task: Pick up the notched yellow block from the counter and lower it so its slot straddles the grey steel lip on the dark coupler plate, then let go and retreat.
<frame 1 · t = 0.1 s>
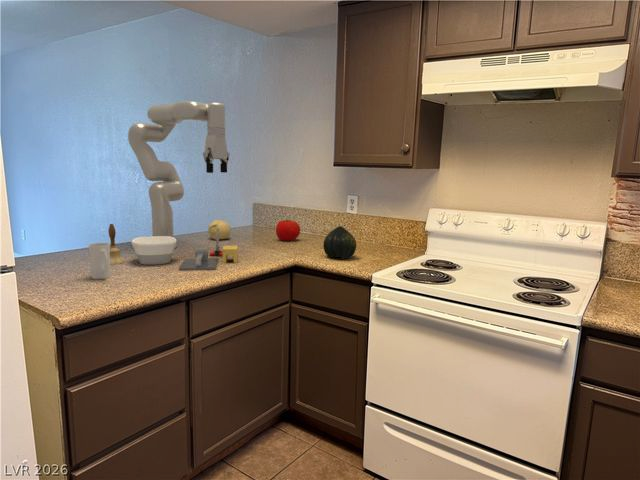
hand: (217, 172, 197), 37 cm above the worktop, tool pointing down, fingers open, 9 cm apart
hand bell: (114, 262, 185), on the worktop
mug: (102, 278, 161), on the worktop
tomato: (287, 240, 247), on the worktop
squash: (339, 257, 207), on the worktop
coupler: (199, 264, 185), on the worktop
bowl: (155, 262, 189), on the worktop
notched yellow block: (230, 261, 193), on the worktop
tow hook: (220, 255, 206), on the worktop
sculpture: (219, 239, 245), on the worktop
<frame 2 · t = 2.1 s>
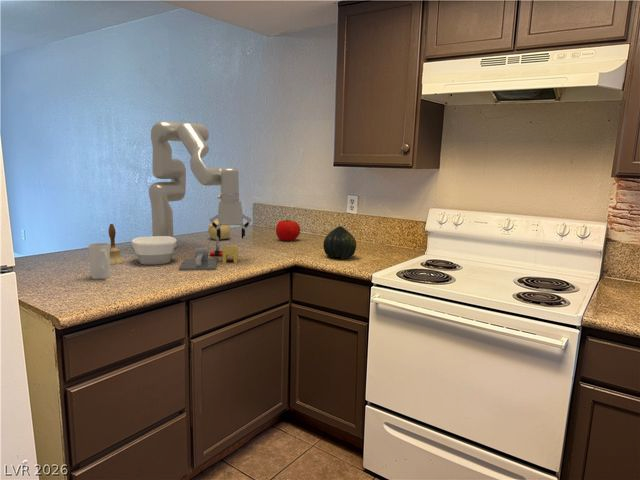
hand: (231, 238, 191), 10 cm above the worktop, tool pointing down, fingers open, 9 cm apart
nothing on the worktop moved.
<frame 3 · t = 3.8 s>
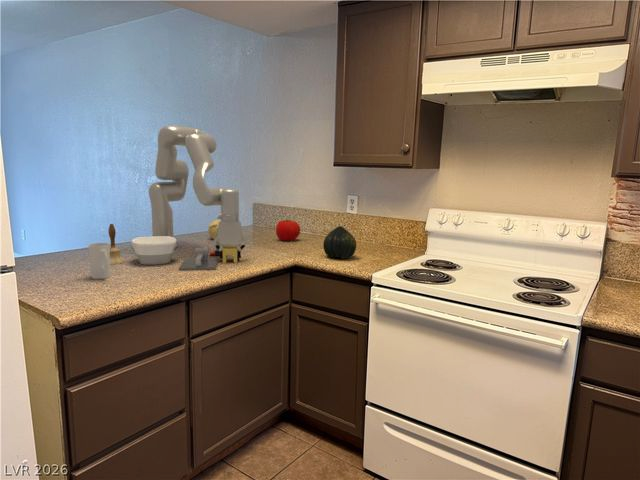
hand: (230, 259, 193), 1 cm above the worktop, tool pointing down, fingers closed on notched yellow block, 6 cm apart
notched yellow block: (230, 260, 193), on the worktop, touching gripper
everything else where it was.
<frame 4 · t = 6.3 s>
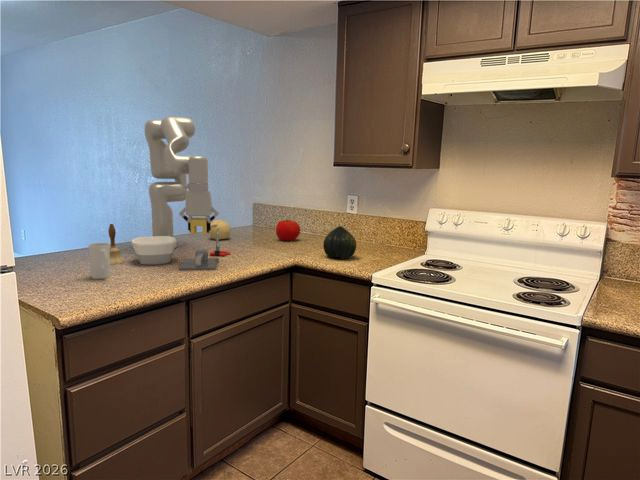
hand: (199, 231, 182), 14 cm above the worktop, tool pointing down, fingers closed on notched yellow block, 6 cm apart
notched yellow block: (199, 233, 182), point 13 cm above the worktop, touching gripper
everything else where it was.
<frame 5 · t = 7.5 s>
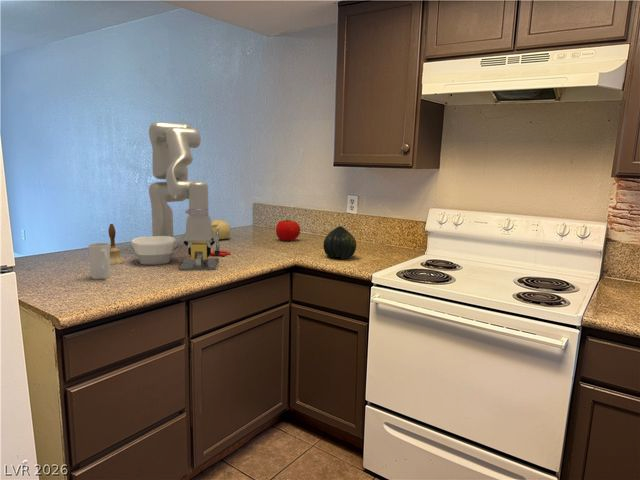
hand: (199, 256, 184), 4 cm above the worktop, tool pointing down, fingers closed on notched yellow block, 6 cm apart
notched yellow block: (199, 257, 184), point 3 cm above the worktop, touching gripper
everything else where it was.
when the fingers open (2 cm above the worktop, at t = 8.6 s): notched yellow block stays where it is, resting on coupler.
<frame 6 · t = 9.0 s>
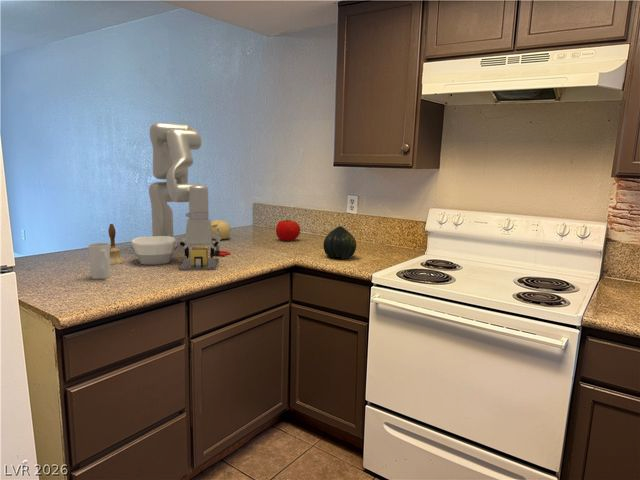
hand: (199, 257, 184), 3 cm above the worktop, tool pointing down, fingers open, 9 cm apart
notched yellow block: (199, 262, 185), point 1 cm above the worktop, touching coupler
everything else where it was.
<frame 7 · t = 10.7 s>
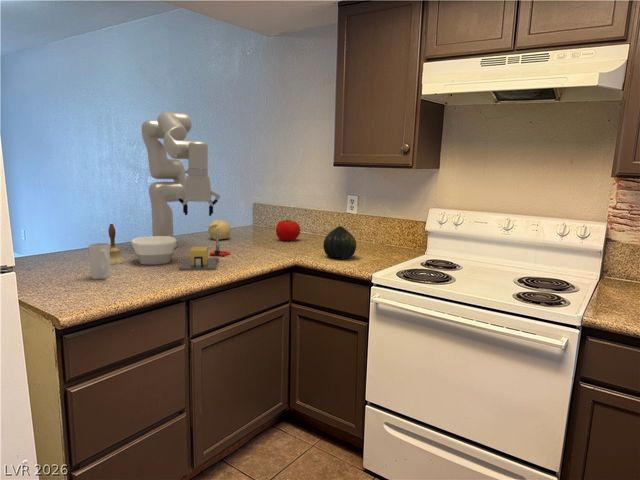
hand: (198, 215, 184), 20 cm above the worktop, tool pointing down, fingers open, 9 cm apart
nothing on the worktop moved.
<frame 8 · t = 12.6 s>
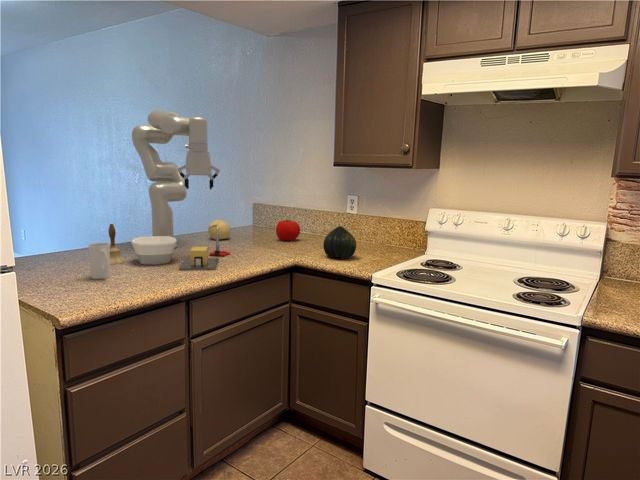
hand: (199, 189, 191), 30 cm above the worktop, tool pointing down, fingers open, 9 cm apart
nothing on the worktop moved.
at the end: notched yellow block inside the target area on the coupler (0.1 cm from its centre), point 0.8 cm above the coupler's base; notched yellow block tilted 0°; the gripper is holding nothing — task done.
